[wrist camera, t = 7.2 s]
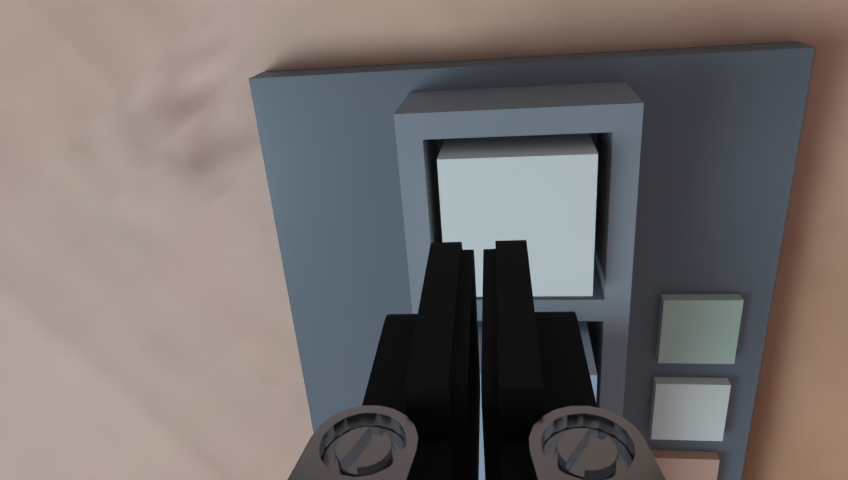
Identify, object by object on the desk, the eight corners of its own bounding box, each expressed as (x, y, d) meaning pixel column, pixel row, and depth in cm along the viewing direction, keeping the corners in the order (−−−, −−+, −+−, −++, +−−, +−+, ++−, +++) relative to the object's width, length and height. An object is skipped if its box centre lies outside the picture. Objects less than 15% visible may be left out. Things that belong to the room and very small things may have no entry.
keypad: (262, 72, 20) (209, 98, 17) (797, 41, 18) (868, 64, 14) (352, 586, 30) (330, 672, 26) (706, 608, 28) (735, 706, 24)
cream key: (447, 129, 19) (436, 159, 16) (585, 124, 18) (598, 153, 16) (454, 250, 20) (446, 296, 18) (581, 249, 20) (592, 295, 17)
